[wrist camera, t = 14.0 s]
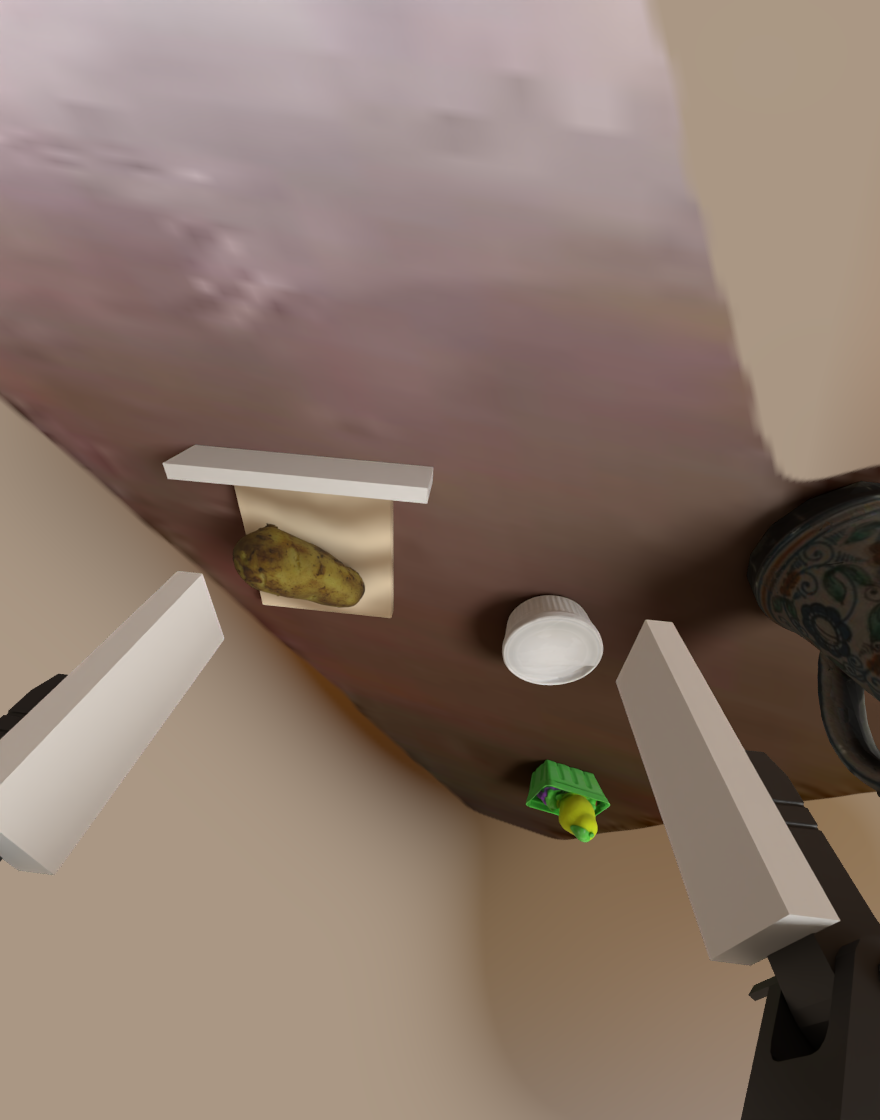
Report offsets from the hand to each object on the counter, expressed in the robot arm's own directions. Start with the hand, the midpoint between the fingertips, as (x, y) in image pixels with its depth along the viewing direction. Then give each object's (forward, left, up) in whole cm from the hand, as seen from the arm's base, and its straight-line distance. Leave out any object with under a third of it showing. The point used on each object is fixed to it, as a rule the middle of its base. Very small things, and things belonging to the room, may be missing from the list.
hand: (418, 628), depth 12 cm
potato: (+17, -15, -27) cm, 35 cm away
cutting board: (+17, -14, -29) cm, 36 cm away
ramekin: (+25, +13, -29) cm, 40 cm away
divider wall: (+7, -14, -29) cm, 33 cm away
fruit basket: (+58, +23, -29) cm, 69 cm away
